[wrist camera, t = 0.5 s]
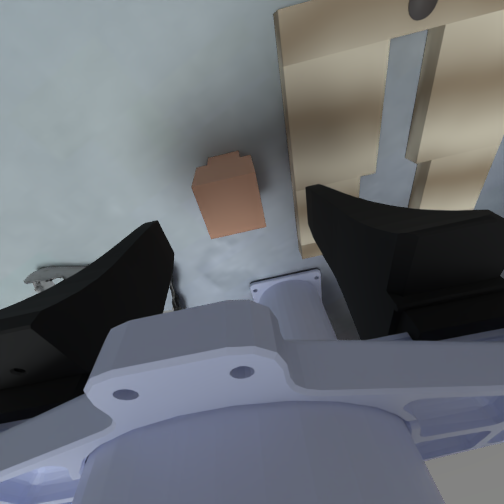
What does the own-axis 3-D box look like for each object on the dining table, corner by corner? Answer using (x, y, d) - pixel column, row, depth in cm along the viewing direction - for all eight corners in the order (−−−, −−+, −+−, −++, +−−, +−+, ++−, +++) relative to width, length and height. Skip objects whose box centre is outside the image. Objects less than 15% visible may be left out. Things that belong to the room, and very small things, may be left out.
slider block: (258, 195, 21) (266, 226, 17) (213, 205, 22) (211, 239, 17) (248, 148, 19) (255, 171, 15) (198, 160, 19) (191, 187, 15)
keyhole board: (456, 215, 25) (468, 223, 23) (299, 249, 25) (303, 259, 24) (556, -63, 14) (591, -76, 12) (273, 14, 14) (278, 9, 13)
